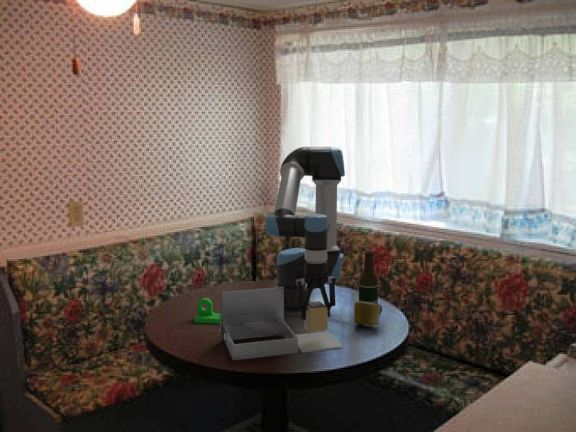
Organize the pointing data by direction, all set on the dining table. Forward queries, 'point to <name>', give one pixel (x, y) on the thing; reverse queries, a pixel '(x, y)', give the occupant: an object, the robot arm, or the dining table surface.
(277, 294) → the case
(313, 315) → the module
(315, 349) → the pad
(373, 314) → the mug
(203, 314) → the mechanical part
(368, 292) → the beer bottle
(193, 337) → the dining table surface
